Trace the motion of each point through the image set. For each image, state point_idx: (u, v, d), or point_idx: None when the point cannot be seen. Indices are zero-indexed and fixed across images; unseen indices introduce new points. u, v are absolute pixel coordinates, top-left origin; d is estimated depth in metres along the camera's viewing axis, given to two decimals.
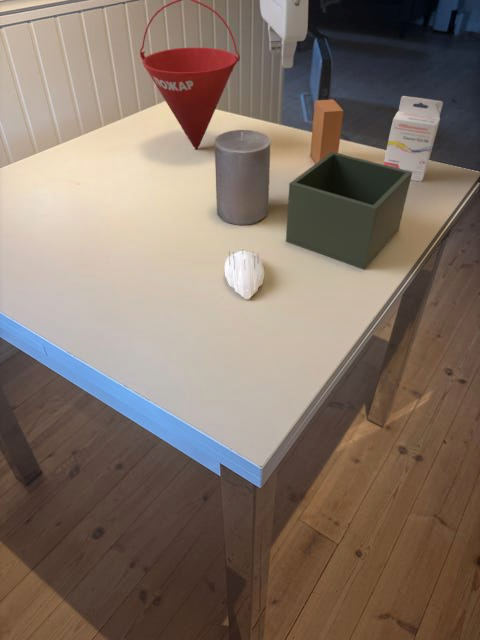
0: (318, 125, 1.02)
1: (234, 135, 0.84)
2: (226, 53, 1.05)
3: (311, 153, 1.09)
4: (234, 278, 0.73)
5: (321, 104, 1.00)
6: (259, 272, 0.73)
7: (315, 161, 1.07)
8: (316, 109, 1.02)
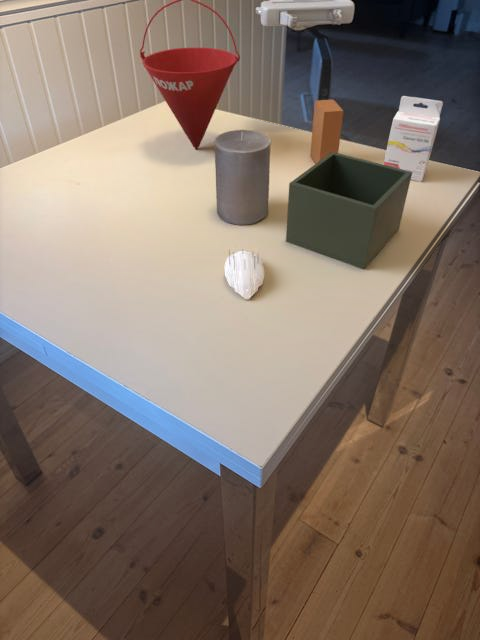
0: (318, 125, 1.02)
1: (234, 135, 0.84)
2: (226, 53, 1.05)
3: (311, 153, 1.09)
4: (234, 278, 0.73)
5: (321, 104, 1.00)
6: (259, 272, 0.73)
7: (315, 161, 1.07)
8: (316, 109, 1.02)
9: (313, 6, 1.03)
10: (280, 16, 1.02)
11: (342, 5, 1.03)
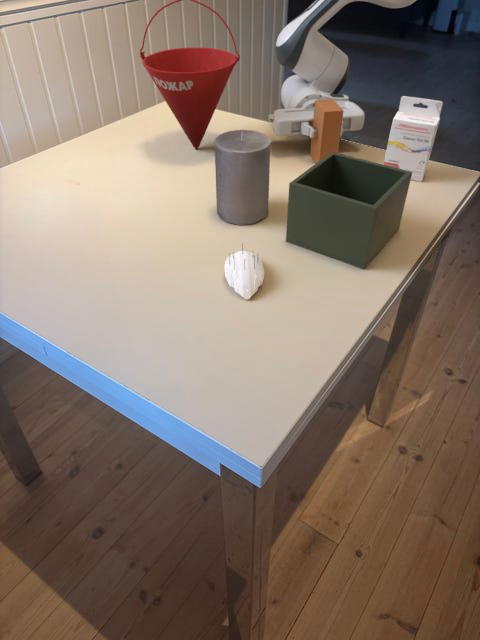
0: (318, 125, 1.02)
1: (234, 135, 0.84)
2: (226, 53, 1.05)
3: (311, 153, 1.09)
4: (234, 278, 0.73)
5: (321, 104, 1.00)
6: (259, 272, 0.73)
7: (315, 161, 1.07)
8: (316, 109, 1.02)
9: None
10: (301, 126, 1.05)
11: (353, 115, 1.06)
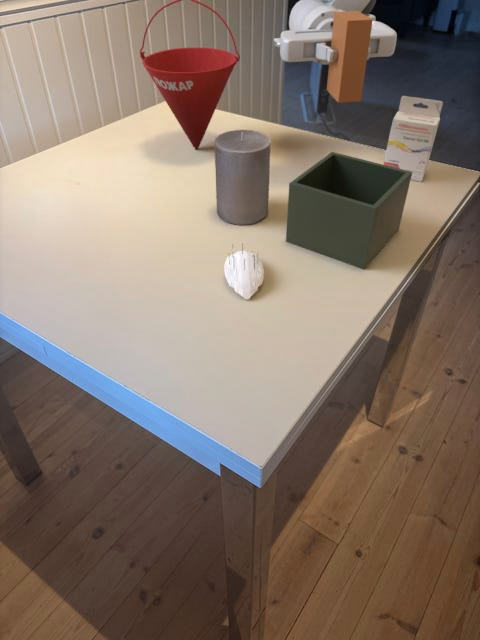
0: (338, 44, 0.79)
1: (234, 135, 0.84)
2: (226, 53, 1.05)
3: (328, 85, 0.86)
4: (234, 278, 0.73)
5: (343, 15, 0.77)
6: (259, 272, 0.73)
7: (334, 94, 0.84)
8: (335, 24, 0.79)
9: None
10: (316, 49, 0.82)
11: (382, 35, 0.83)
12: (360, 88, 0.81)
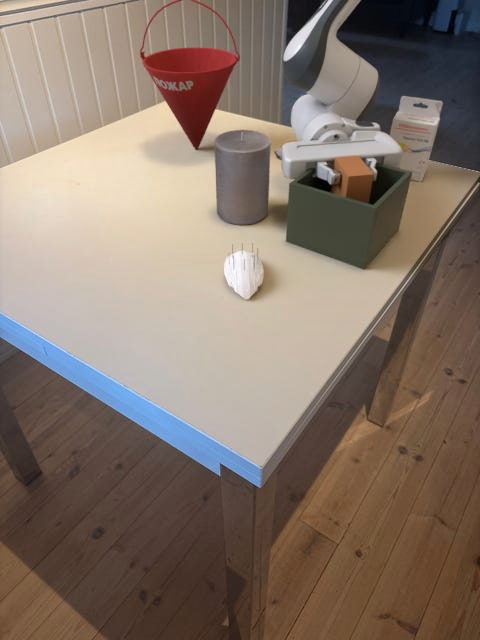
0: (339, 190, 0.79)
1: (234, 135, 0.84)
2: (226, 53, 1.05)
3: None
4: (234, 278, 0.73)
5: (343, 164, 0.77)
6: (259, 272, 0.73)
7: None
8: (336, 169, 0.79)
9: (349, 155, 0.80)
10: (317, 168, 0.80)
11: (387, 152, 0.80)
12: None
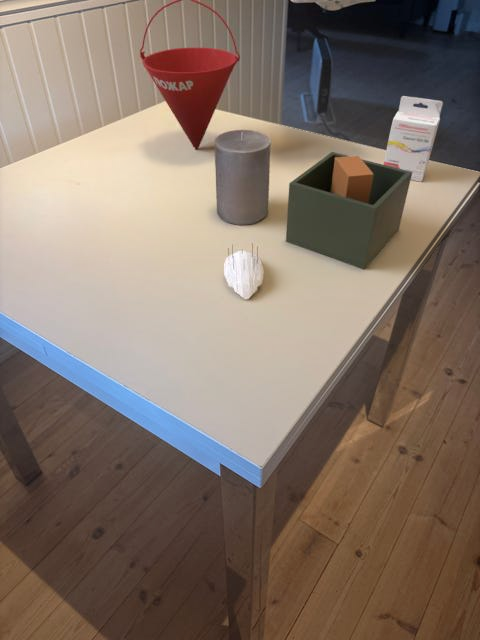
0: (339, 190, 0.79)
1: (234, 135, 0.84)
2: (226, 53, 1.05)
3: None
4: (233, 278, 0.73)
5: (343, 164, 0.77)
6: (258, 272, 0.73)
7: None
8: (336, 169, 0.79)
9: None
10: None
11: None
12: None
